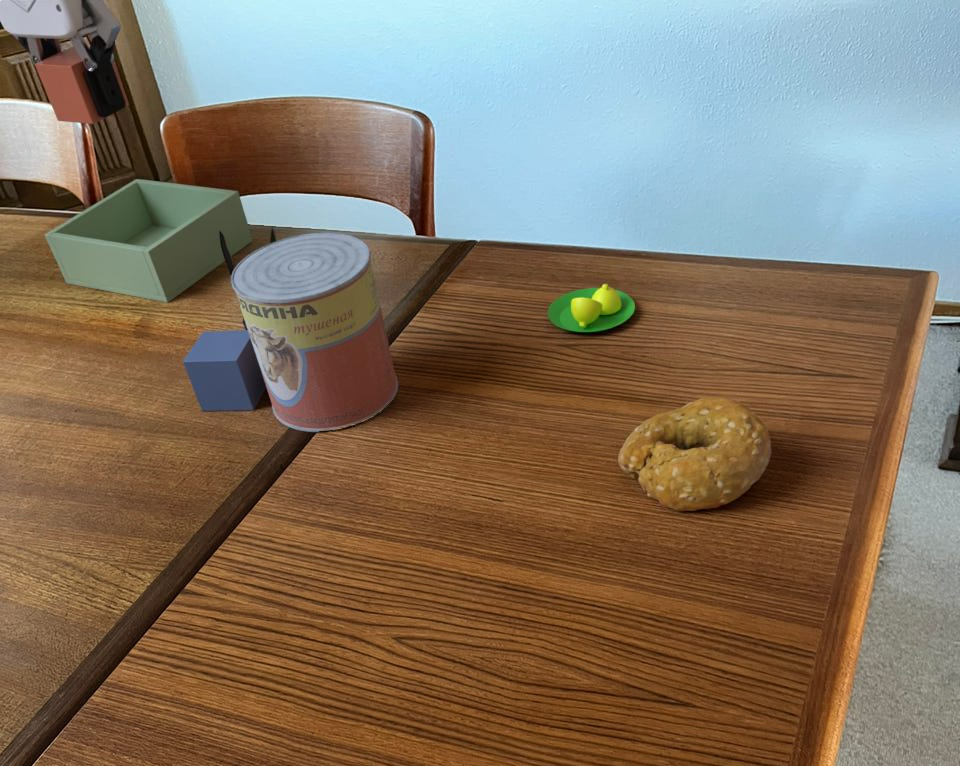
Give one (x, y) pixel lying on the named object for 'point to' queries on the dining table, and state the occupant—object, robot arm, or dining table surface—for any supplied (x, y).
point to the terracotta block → (70, 87)
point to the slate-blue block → (225, 371)
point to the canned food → (317, 329)
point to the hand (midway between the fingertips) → (91, 108)
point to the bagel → (698, 454)
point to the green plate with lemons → (591, 309)
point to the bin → (150, 238)
